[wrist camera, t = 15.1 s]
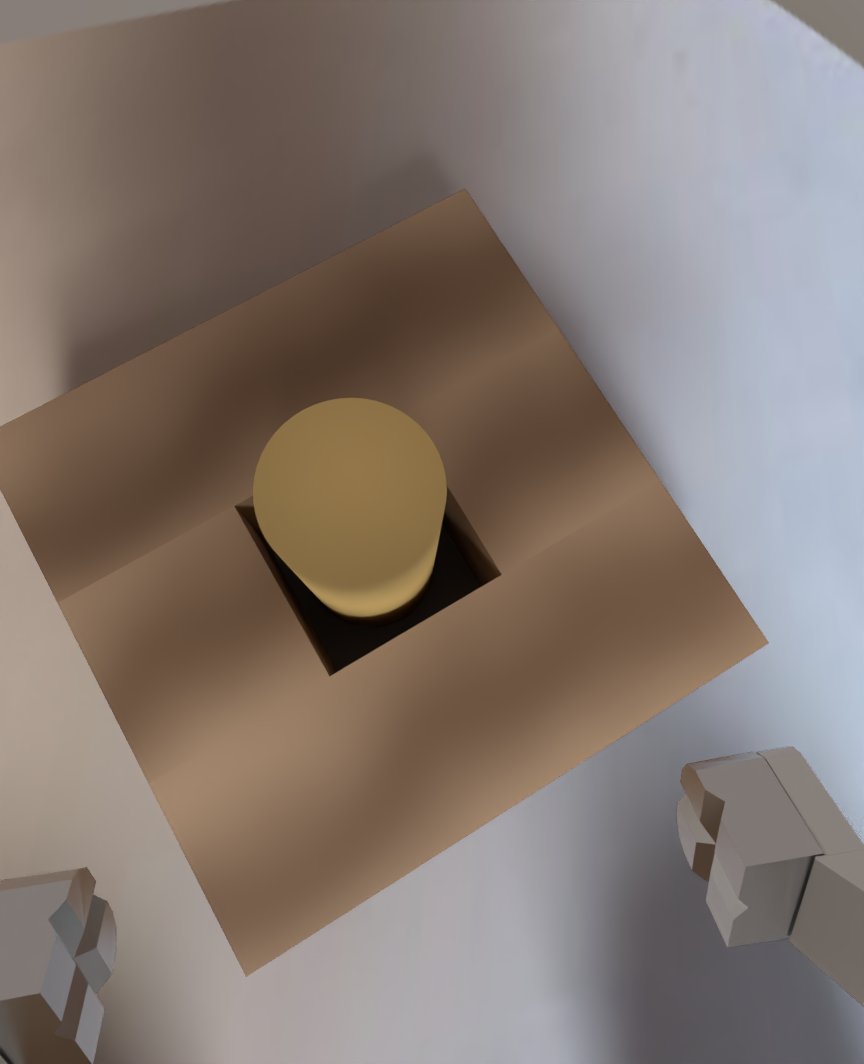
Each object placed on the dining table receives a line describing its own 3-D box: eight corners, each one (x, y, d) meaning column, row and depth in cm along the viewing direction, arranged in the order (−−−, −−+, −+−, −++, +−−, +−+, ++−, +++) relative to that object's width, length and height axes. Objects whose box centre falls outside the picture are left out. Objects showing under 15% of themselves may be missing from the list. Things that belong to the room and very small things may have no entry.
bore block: (67, 493, 28) (-25, 439, 22) (454, 288, 30) (465, 188, 24) (284, 911, 25) (245, 976, 19) (690, 654, 27) (768, 642, 21)
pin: (290, 546, 26) (218, 455, 16) (394, 487, 27) (385, 365, 17) (349, 650, 25) (312, 621, 16) (454, 588, 26) (482, 522, 16)
